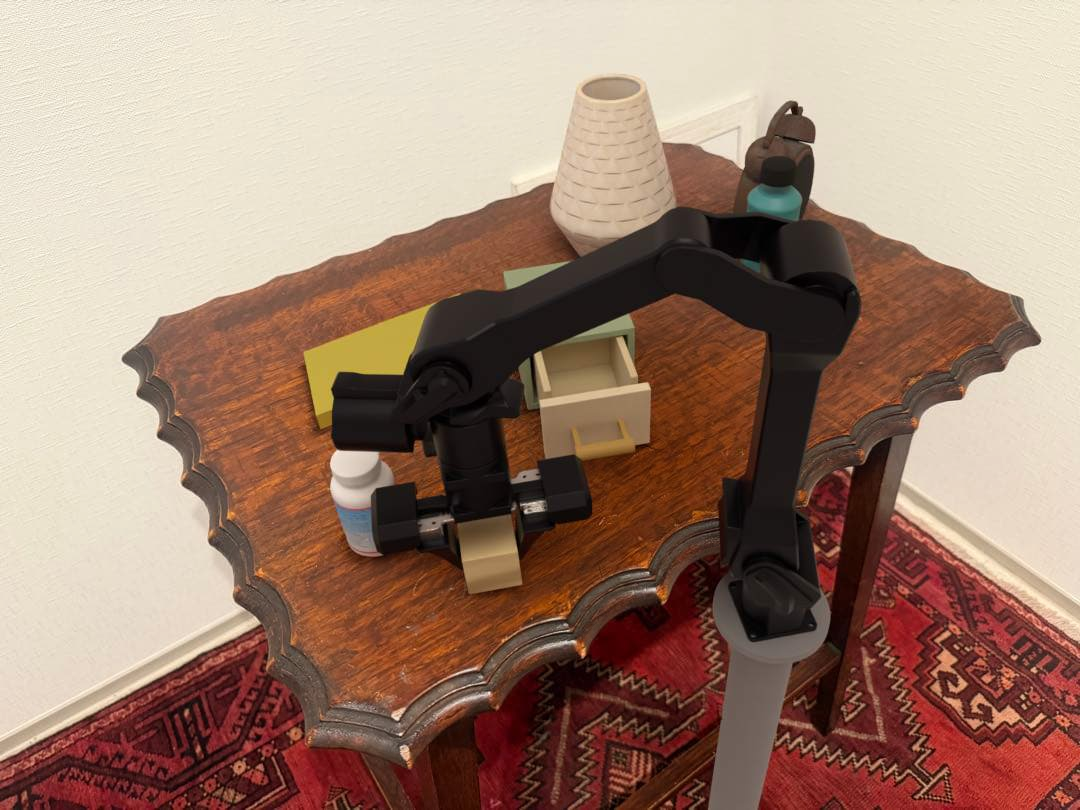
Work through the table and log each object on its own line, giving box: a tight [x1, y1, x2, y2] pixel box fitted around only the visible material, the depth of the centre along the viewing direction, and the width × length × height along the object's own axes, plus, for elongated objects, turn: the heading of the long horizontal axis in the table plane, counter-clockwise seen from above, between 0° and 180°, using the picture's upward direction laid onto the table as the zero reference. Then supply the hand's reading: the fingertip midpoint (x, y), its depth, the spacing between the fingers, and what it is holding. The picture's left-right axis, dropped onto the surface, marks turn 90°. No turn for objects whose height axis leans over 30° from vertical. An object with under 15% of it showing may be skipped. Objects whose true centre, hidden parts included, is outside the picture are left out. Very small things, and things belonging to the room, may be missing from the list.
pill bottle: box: [329, 449, 396, 558], centre depth 84 cm, size 6×6×11 cm
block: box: [456, 514, 523, 595], centre depth 80 cm, size 5×5×5 cm
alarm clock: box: [732, 99, 817, 221], centre depth 115 cm, size 15×7×20 cm, turn 147°
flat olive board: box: [303, 293, 461, 430], centre depth 107 cm, size 12×2×24 cm
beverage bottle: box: [739, 156, 802, 273], centre depth 105 cm, size 6×7×20 cm
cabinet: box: [503, 260, 636, 411], centre depth 103 cm, size 15×13×10 cm
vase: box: [549, 73, 678, 257], centre depth 116 cm, size 17×17×23 cm
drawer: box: [531, 335, 652, 462], centre depth 94 cm, size 18×11×8 cm, turn 9°
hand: (491, 561), depth 81 cm, fingers closed on block, 5 cm apart
